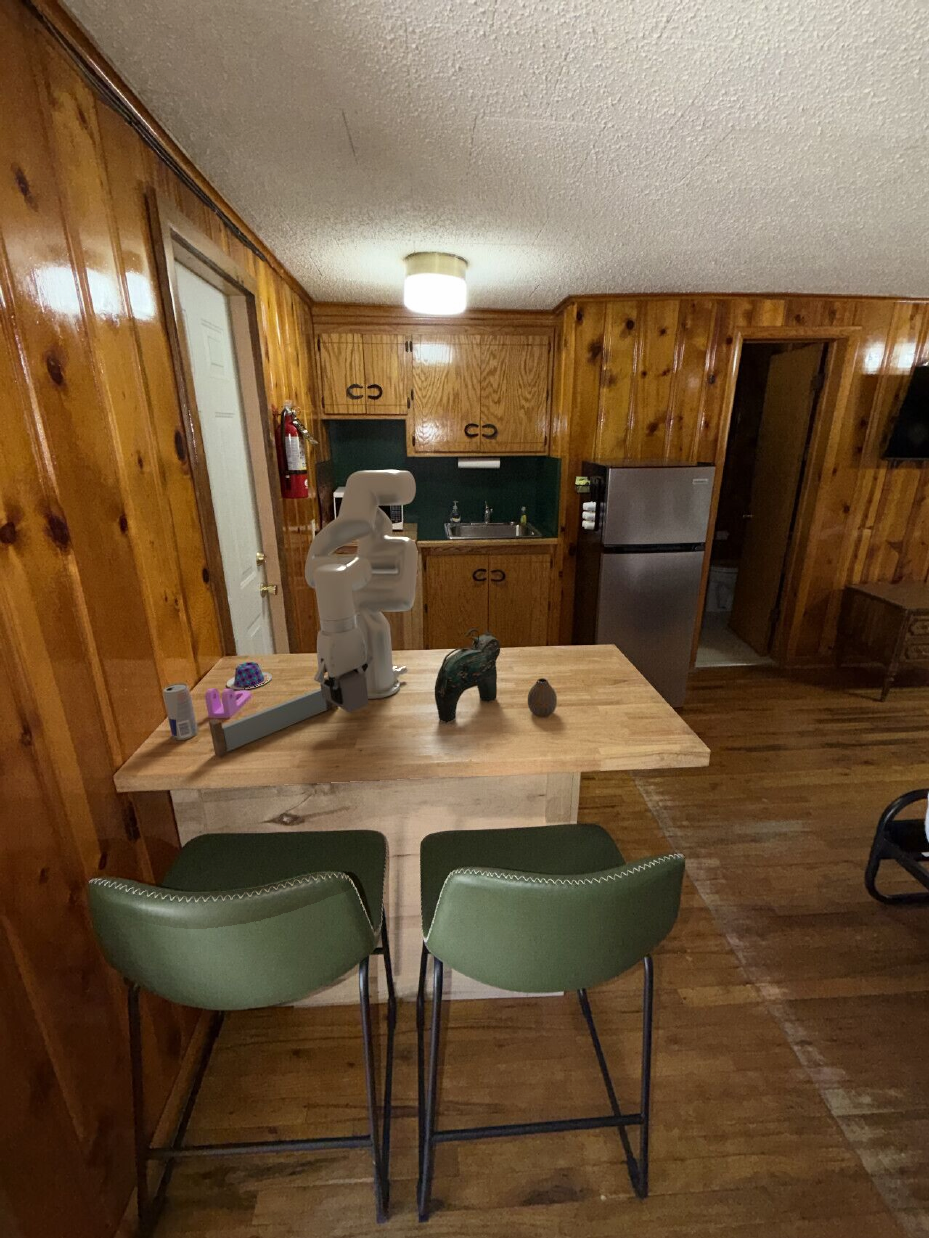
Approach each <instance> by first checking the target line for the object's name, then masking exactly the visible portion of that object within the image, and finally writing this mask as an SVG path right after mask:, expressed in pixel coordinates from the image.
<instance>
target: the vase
mask: <svg viewBox="0 0 929 1238" xmlns="http://www.w3.org/2000/svg"><path fill="white" fill-rule="evenodd" d="M557 703H558V698H557V694H556V691H555V689H554V687H553V686H552V685H551V684H550V683H549V681H548V679H547V678H544V677H543V678H538V679H537V680H536V682H535V684H534V685H533V686H532V687H531V688H530V690H529V692H528V695H527V706H528V709H529V711H530V712H531V714H533V715H534V716H535V717H538V718H548V717H550V716H551V715H552V714H553V713H554V712H555V710H556V708H557Z"/></svg>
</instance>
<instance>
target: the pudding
mask: <svg viewBox="0 0 929 1238" xmlns="http://www.w3.org/2000/svg"><path fill="white" fill-rule="evenodd" d="M263 675H267V678H269V679H267V680H268V681H266V682H265V683H264V684H261V682H262V683H263V681H265V679H264V678H265V677H264V676H263ZM272 677H273V675H272V674H271V673H269V672H267V671H262V670H261V667H260V665H259V663H257V662H253V661H248V662H247V661H246V662H243V663H240V664H238V665H237V666H236V668H235V672H234V676H233V677H232V678H230V679H229V680H227V682H226V686H227V687H228V689H233V690H248V689H253V688H257V687H261V686H263V685H265V684H268V682H269V681H271V679H272ZM257 684H261V685H258V686H256V687H254V686H255V685H257ZM249 686H251V687H250V688H249ZM244 687H245V689H244ZM246 687H247V688H246Z"/></svg>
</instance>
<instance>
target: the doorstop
mask: <svg viewBox="0 0 929 1238" xmlns="http://www.w3.org/2000/svg"><path fill="white" fill-rule="evenodd" d="M319 684H320V688H321V692H322V697H323V698H324V699H326V700H328V701H330V702H331V703H333V704H335V705H337V706H338V708H340V709H342V710H344V711H345V712H347V713H349V714H353V713H354V712H357V711H358V710H360V709H362V708H365V707H366V706H368V705H369V704H370V703H369V699H368V692H367V684H366V677H365V676H363V675H361V674H359V673H357V672H355V671H353V670H352V671H349V672H347V673H345V674H342V675H340V678H339V685H338V687H339V688H341V693H342V700H343V703H342V704H341V705H339V704H337V703H336V702H334V701H333V700H332V699H331V694H330V687H329V686H327V685H325V684H322V683H319Z"/></svg>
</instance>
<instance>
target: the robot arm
mask: <svg viewBox="0 0 929 1238" xmlns="http://www.w3.org/2000/svg"><path fill="white" fill-rule="evenodd" d="M416 488H417V486H416V481H415V478H414V476H413V474H412V472H411V471H408V470H397V469H383V470H382V469H380V470H379V469H377V470H369V469H368V470H358V471H356V472H353V473H352V474H350V475H349V476H348V478H347V481H346V483H345V488H344V491H343V495H342V500H341V504H340V508H339V511H338V515H337V517H336V518H335V519H333V520H332V521H330V522H329V523H327V525H325V526H324V527H323V528H322V529H321V530H320V531H319V532H318V533H316V535H315V536H314V537H313V538H312V541H311V543H310V545H309V549H308V553H307V556H306V560H305V564H304V565H305V567H304V577H305V580H306V583H307V585H308V586H309V587H311V588H312V589H315V595H316V602H317V610H318V616H319V623H320V624H319V625H320V630H318V631H317V637H316V639H317V640H316V656H317V668H318V669H317V672H316V673H315V676H314V677H313V680H314V681H316V682H317V683H319V684H321V683H322V684H325V685H327V686H329V687H330V694H331V699H332V700H333V701H334V702H336V703H337V704H339V705H341V704H342V703H343V700H342V693H341V688H339V687H338V685H339V678H340V675H342V674H345V673H347V672H349V671H352V670H353V671H355V672H357V673H359V674H361V675H363V676H365V677H366V684H367V692H368V700H369V699H370V700H372V699H375V700H376V699H383V698H386V697H389V696H392V695H394V694H396V693H397V692H398V691H399V690H400V688H401V682H400V680H399V679H398V678H400V676H402V675H404V674H407V673H408V668H407V666H405V665H403V666H401V667H400V668H398V667H397V666H393V665H394V664H393V663H394V662H393V652H392V651H393V650H392V638H391V636H392V635H391V626H390V623H389V621H388V619H387V618H386V616H385V615H384V614H383V612H405V611H406V612H407V611H409V610H411V608H412V607H413V606H414V603H415V598H416V588H417V587H416V586H417V575H418V560H419V552H418V548H417V544H416V543H415V540H413V539H412V538H410V537H406V536H393V522H392V520H391V519H390V518H389V516H388V515H387V514H386V512H385V511H384V510H382V509H381V508H380V507H379V506H405V505H407V504H410V503H412V502H413V500H414V498H415V496H416V491H417V489H416ZM354 542H357V549H356V550H357V551H356V555H354V554H353V555H352V554H351V555H343V554H342V555H341V554H340V555H337V554H336V555H334V554H333V555H331V554H332V553H333V552H335V551H336V550H338V549H339V548H342V547H344V546H346V545H348V544H351V543H354ZM326 673H327V676H326V677H327V679H326V677H325V675H326Z"/></svg>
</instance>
